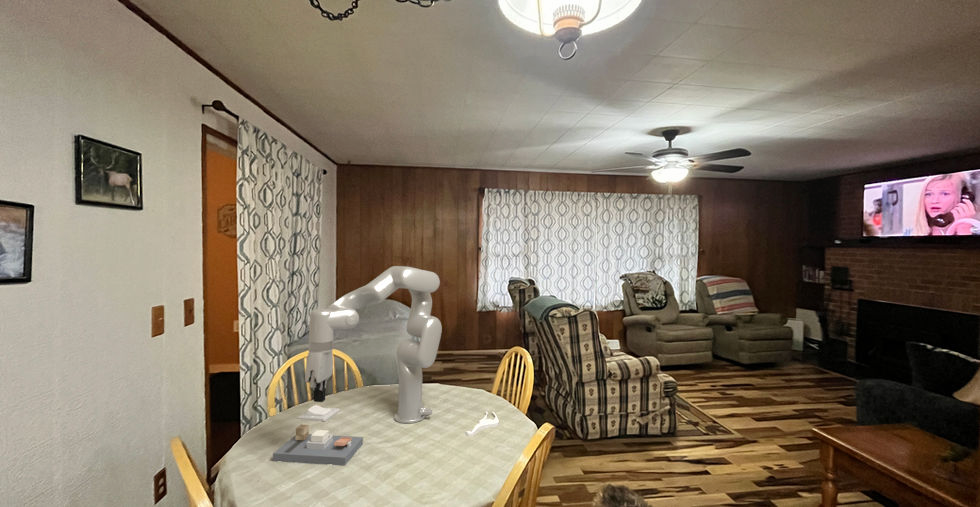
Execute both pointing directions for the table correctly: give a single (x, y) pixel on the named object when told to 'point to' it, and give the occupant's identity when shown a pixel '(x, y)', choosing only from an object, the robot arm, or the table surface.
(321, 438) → the push button
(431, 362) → the robot arm
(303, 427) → the slider knob
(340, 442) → the rocker paddle
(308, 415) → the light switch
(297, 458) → the switch panel
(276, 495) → the table surface
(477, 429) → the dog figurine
